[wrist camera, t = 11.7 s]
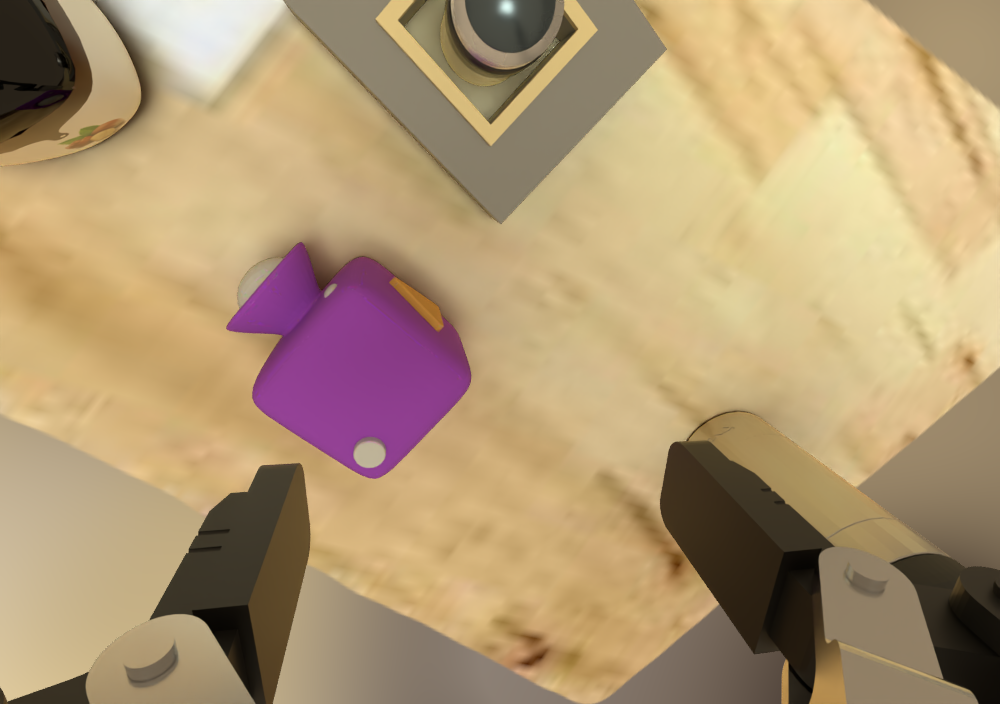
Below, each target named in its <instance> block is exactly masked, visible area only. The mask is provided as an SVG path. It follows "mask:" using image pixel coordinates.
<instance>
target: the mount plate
mask: <svg viewBox="0 0 1000 704" xmlns="http://www.w3.org/2000/svg"><path fill="white" fill-rule="evenodd" d="M283 1H284V2H285V4H286V5H287V6H288V8H289V9H290V10H291V12H292V13H293V14H294V15H295V16H296V17H297V19H298V20H299V21H300V22H301V23H302V24H303V25H304V26H305V27H306V28H307V29H308V30H309V31H310V32H311V33H312V34H313V35H314V36H315V37H316V38H317V39H318V40H319V41H320V42H321V43H322V44H323V45H324V46H325V47H326V48H327V49H328V50H329V51H330V52H331V53H332V54H333V55H334V56H335V57H336V58H337V60H338V61H339V62H340V63H341V64H342V65H343V66H344V67H345V68H346V69H347V70H348V71H349V72H350V73H351V74H352V75H353V76H354V77H355V78H356V79H357V80H358V81H359V82H360V83H361V84H362V85H363V86H364V87H365V88H366V89H367V90H368V91H369V92H370V93H371V94H372V95H373V96H374V97H375V98H376V99H377V100H378V102H379V103H380V104H381V105H382V106H383V107H384V108H385V109H386V110H387V111H388V112H389V113H390V114H391V115H392V116H393V117H394V118H395V119H396V120H397V121H398V122H399V123H400V124H401V125H402V126H403V127H404V128H405V129H406V130H407V131H408V132H409V133H410V134H411V135H412V136H413V137H414V138H415V139H416V140H417V141H418V142H419V144H420V145H421V146H422V147H423V148H424V149H425V150H426V151H427V152H428V153H429V154H430V155H431V156H432V157H433V158H434V159H435V160H436V161H437V162H438V163H439V164H440V165H441V166H442V167H443V168H444V169H445V170H446V171H447V172H448V173H449V174H450V175H451V176H452V177H453V178H454V179H455V180H456V181H457V182H458V183H459V185H460V186H461V187H462V188H463V189H464V190H465V191H466V192H467V193H468V194H469V195H470V196H471V197H472V198H473V199H474V200H475V201H476V202H477V203H478V204H479V205H480V206H481V207H482V208H483V209H484V210H485V211H486V212H487V213H488V214H489V215H490V216H491V217H492V218H493V219H494V220H496V221H497V222H498V223H500V224H502V223H503V221H504V220H505V219H506V218H507V217H508V216H509V215H510V214H511V213H512V212H513V211H514V210H515V209H516V208H517V207H518V206H519V205H520V204H521V203H522V201H523V200H524V199H525V198H526V197H527V196H528V195H529V194H530V193H531V192H532V191H533V190H534V189H535V188H536V187H537V186H538V185H539V184H540V182H541V181H542V180H543V179H544V178H545V177H546V176H547V175H548V174H549V173H550V172H551V171H552V170H553V169H554V168H555V167H556V166H557V165H558V164H559V162H560V161H561V160H562V159H563V158H564V157H565V156H566V155H567V154H568V153H569V152H570V151H571V150H572V149H573V148H574V147H575V146H576V145H577V144H578V142H579V141H580V140H581V139H582V138H583V137H584V136H585V135H586V134H587V133H588V132H589V131H590V130H591V129H592V128H593V127H594V126H595V125H596V124H597V122H598V121H599V120H600V119H601V118H602V117H603V116H604V115H605V114H606V113H607V112H608V111H609V110H610V109H611V108H612V107H613V106H614V105H615V104H616V102H617V101H618V100H619V99H620V98H621V97H622V96H623V95H624V94H625V93H626V92H627V91H628V90H629V89H630V88H631V87H632V86H633V85H634V83H635V82H636V81H637V80H638V79H639V78H640V77H641V76H642V75H643V74H644V73H645V72H646V71H647V70H648V69H649V68H650V67H651V66H652V65H653V63H654V62H655V61H656V60H657V59H658V58H659V57H660V56H661V55H662V54H663V53H664V52H665V51H666V50H667V49H666V47H665V46H664V44H663V43H662V41H661V40H660V38H659V37H658V36H657V34H656V33H655V31H654V30H653V28H652V27H651V25H650V24H649V22H648V21H647V19H646V18H645V16H644V15H643V13H642V12H641V10H640V9H639V7H638V6H637V5H636V3H635V2H634V0H564V14H563V18H562V22H561V25H560V28H559V31H558V33H557V35H556V37H557V38H558V39H559V40H560V42H559V43H558V44H557V46H556V47H555V48H554V49H553V50H552V51H551V52H550V53H549V54H548V55H547V57H546V58H545V59H544V60H543V61H542V62H541V63H540V64H539V65H538V66H537V67H536V69H535V70H534V71H533V72H532V73H531V74H530V75H529V76H528V77H527V78H526V80H525V81H524V82H523V83H522V84H521V85H520V86H519V87H518V88H517V89H516V91H515V92H514V93H513V94H512V95H511V96H510V97H509V98H508V99H507V100H506V101H505V103H504V104H503V105H502V106H501V107H500V108H499V109H498V110H497V111H496V112H495V114H494V115H493V116H492V117H491V118H490V119H489V120H488V121H487V120H486V119H485V118H484V116H483V115H482V114H481V113H480V112H479V111H478V110H477V109H476V107H475V106H474V105H473V104H472V103H471V102H470V101H469V100H468V99H467V97H466V96H465V95H464V94H463V93H462V92H461V91H460V90H459V88H458V87H457V86H456V85H455V84H454V83H453V82H452V81H451V79H450V78H449V77H448V76H447V75H446V74H445V73H444V72H443V70H442V69H441V68H440V67H439V66H438V65H437V64H436V63H435V62H434V60H433V59H432V58H431V57H430V56H429V55H428V54H427V53H426V51H425V50H424V49H423V48H422V47H421V46H420V45H419V44H418V42H417V41H416V40H415V39H414V38H413V37H412V36H411V35H410V33H409V32H408V31H407V30H406V29H405V28H404V26H405V25H406V24H407V22H408V21H409V20H410V19H411V18H412V17H413V15H414V14H415V13H416V12H417V11H418V10H419V8H420V7H421V6H422V5H423V4H424V3H425V1H426V0H283Z"/></svg>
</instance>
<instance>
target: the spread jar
mask: <svg viewBox="0 0 1000 704" xmlns="http://www.w3.org/2000/svg"><path fill="white" fill-rule="evenodd" d="M140 102H141V87H140V83H139V79H138V76H137V73H136V70H135V68H134V65H133V63H132V60H131V58H130V56H129V54H128V52H127V50H126V48H125V46H124V44H123V43H122V41H121V39H120V38H119V36H118V34H117V33H116V31H115V30H114V28H113V27H112V25H111V24H110V22H109V21H108V20H107V18H106V17H105V16H104V14H103V13H102V12H101V11H100V9H99V8H98V7H97V6H96V5H95V4H94V2H93V1H92V0H0V166H8V165H18V164H25V163H31V162H37V161H42V160H47V159H52V158H57V157H61V156H65V155H69V154H72V153H75V152H78V151H81V150H84V149H87V148H90V147H92V146H95V145H97V144H99V143H101V142H103V141H104V140H106V139H108V138H109V137H111V136H112V135H114V134H115V133H116V132H118V131H119V130H120V129H121V128H122V127H123V126H124V125H125V124H127V123H128V121H129V120H130V119H131V118H132V117H133V115H134V114H135V112H136V111H137V109H138V107H139V105H140Z"/></svg>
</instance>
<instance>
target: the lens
mask: <svg viewBox="0 0 1000 704" xmlns="http://www.w3.org/2000/svg"><path fill="white" fill-rule="evenodd" d="M563 14H564V0H446V5H445V12H444V15H443V18H442V22H441V28H440V40H441V46H442V50H443V53H444V56H445V58H446V61H447V62H448V64H449V66H450V67H451V68H452V70H453V71H454V72H455V73H456V74H457V75H458V76H459V77H460V78H462V79H463V80H465V81H466V82H468V83H471V84H474V85H477V86H492V85H496V84H499V83H501V82H503V81H505V80H506V79H507V78H509V77H510V76H512V75H515V74H517V73H519V72H521V71H522V70H523V69H525V68H526V67H528V66H529V65H531V64H532V63H533V62H535V61H536V60H537V59H538V58H539V57H540V56H541V55H542V54H543V53H544V52H545V50H546V49H547V48H548V47H549V46H550V45H551V43H552V42H553V40H554V39H555V37H556V35H557V33H558V31H559V28H560V25H561V22H562V18H563Z"/></svg>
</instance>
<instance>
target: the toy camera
mask: <svg viewBox="0 0 1000 704" xmlns="http://www.w3.org/2000/svg"><path fill="white" fill-rule="evenodd" d="M237 299H238V305H239V308H240V309H239V310H238V312H237V313H236V314H235V315H234V317H233V318H232V319H231V320H230V322H229V323H228V325H227V327H226V329H227V330H229V331H234V332H243V333H264V334H279V335H283V336H282V338H281V339H280V341H279V342H278V343H277V345H276V346H275V348H274V349H273V351H272V353H271V354H270V356H269V357H268V359H267V361H266V362H265V364H264V366H263V367H262V369H261V371H260V373H259V375H258V377H257V379H256V381H255V384H254V387H253V392H252V396H253V401H254V403H255V404H256V406H257V407H258V408H259V409H260V410H261V411H262V412H263V413H265V414H266V415H267V416H269V417H270V418H272V419H273V420H275V421H276V422H278V423H279V424H281V425H282V426H284V427H285V428H287V429H288V430H290V431H291V432H293V433H294V434H296V435H297V436H299V437H301V438H302V439H304V440H305V441H307V442H308V443H310V444H312V445H313V446H315V447H316V448H318V449H319V450H321V451H323V452H324V453H326V454H327V455H329V456H330V457H332V458H334V459H335V460H337V461H338V462H340V463H341V464H343V465H345V466H346V467H348V468H350V469H351V470H353V471H355V472H357V473H358V474H360V475H362V476H365V477H368V478H373V479H375V478H379V477H381V476H383V475H385V474H386V473H388V472H389V471H390V470H391V469H393V468H394V467H395V466H396V465H397V464H398V463H399V462H400V461H401V460H402V459H403V458H404V457H405V456H406V455H407V454H408V453H409V452H410V451H411V450H412V449H413V448H414V447H415V446H416V445H417V444H418V443H419V442H420V441H421V440H422V438H423V437H424V436H425V435H426V434H427V433H428V432H429V431H430V430H431V429H432V428H433V427H434V426H435V425H436V424H437V423H438V422H439V421H440V420H441V419H442V418H443V417H444V416H445V415H446V414H447V413H448V412H449V411H450V409H451V408H452V407H453V406H454V405H455V404H456V403H457V402H458V401H459V400H460V399H461V397H462V396H463V395H464V394H465V392H466V391H467V389H468V387H469V385H470V382H471V371H470V367H469V363H468V360H467V357H466V354H465V351H464V348H463V345H462V342H461V340H460V337H459V335H458V333H457V331H456V330H455V329H454V327H453V326H452V325H451V324H450V323H449V322H448V321H447V320H446V319H445V318H444V317H442V316H441V313H440V309H439V307H438V306H437V305H436V304H434V303H433V302H432V301H430V300H429V299H427V298H426V297H424V296H423V295H421V294H420V293H419V292H417V291H416V290H414V289H413V288H411V287H410V286H408V285H407V284H405V283H404V282H402V281H401V280H399V279H398V278H397V277H395V276H394V275H393V274H392V273H390V272H389V271H388V270H387V269H386V268H384V267H383V266H382V265H380V264H379V263H378V262H376V261H374V260H372V259H370V258H367V257H358V258H355V259H353V260H352V261H350V262H349V263H348V264H346V265H345V266H344V267H343V268H342V269H341V270H340V271H339V272H338V273H337V274H336V275H335V276H334V277H333V279H332V280H331V281H330V282H329V283H328V284H327V285H326V286H325V288H324V289H323V290H322V291H321V290H320V289H319V287H318V284H317V281H316V278H315V275H314V271H313V268H312V264H311V261H310V258H309V255H308V252H307V250H306V248H305V246H304V244H303V243H302V242H300V243H298V244H297V245H296V246H295V247H294V248H293V249H292V250H291V251H290V252H289V253H288V254H287V255H286V256H285V258H278V257H275V258H269V259H266V260H264V261H261V262H259V263H257V264H256V265H254V266H253V267H252V268H251V269H250V270H249V271H248V272H247V273H246V274H245V276H244V277H243V279H242V280H241V282H240V285H239V287H238V293H237Z"/></svg>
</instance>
